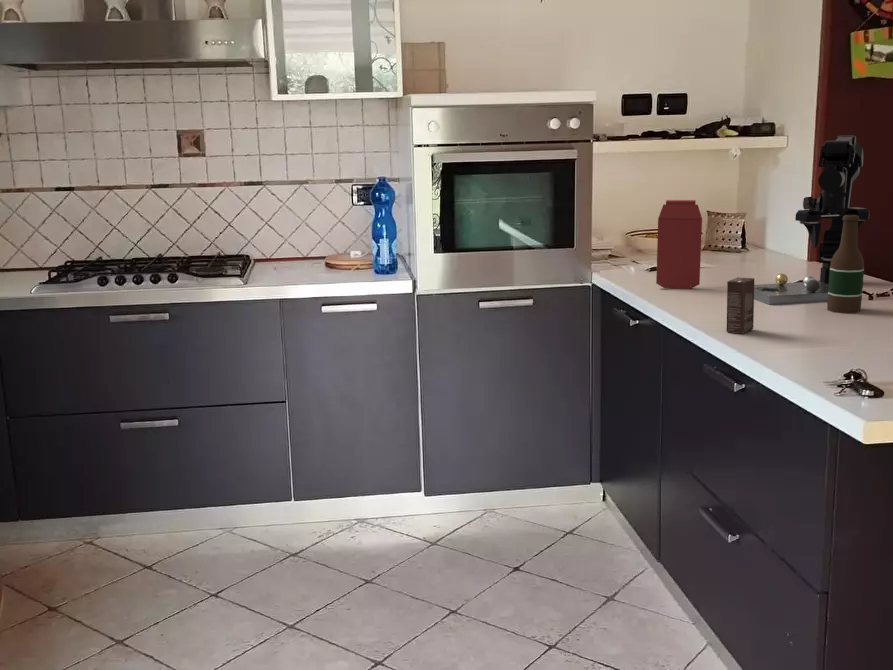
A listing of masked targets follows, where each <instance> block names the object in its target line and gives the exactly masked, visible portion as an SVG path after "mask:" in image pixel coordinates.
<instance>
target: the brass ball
mask: <svg viewBox="0 0 893 670" xmlns="http://www.w3.org/2000/svg"><path fill="white" fill-rule="evenodd" d="M788 280H789V279H788V276H787V274H785V273H779V274H777V275H776V276H775V284H778V285H784V284H786V283H788Z"/></svg>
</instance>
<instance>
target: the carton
mask: <svg viewBox="0 0 893 670" xmlns="http://www.w3.org/2000/svg"><path fill="white" fill-rule="evenodd" d="M696 203H697V202H696V199H666V201H665V204H663V205H662V207H661V209H660V212H659V215H658V218H657V246H656V249H657V250H656V276H655V277H656V278H655V279H656V280H655V283H656V284H655V285H658V286H659V287H661V288H664V289H681V290H683V289H684V290H686V289H688V290H692V289H693V288H695V287H698V286H699V285H700V281H701V280H700V279H701V278H700V277H701V256H702V255H701V254H702V233H703V232H702V230H703V218H702V214H701V211H700V207H699V204H696Z"/></svg>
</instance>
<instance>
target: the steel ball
mask: <svg viewBox="0 0 893 670" xmlns="http://www.w3.org/2000/svg"><path fill="white" fill-rule="evenodd" d="M810 280H816V278H815V277H814V276H812V275H807V276H805V277H804V278H803V280H802V282H803V285H804V286H805V287H807V283H808V282H809V281H810Z"/></svg>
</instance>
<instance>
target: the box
mask: <svg viewBox="0 0 893 670" xmlns="http://www.w3.org/2000/svg"><path fill="white" fill-rule="evenodd" d="M726 282H727V286H726V287H727V288H726V290H727V291H726V298H727V299H726V332H727V333H731V332H732V334H737V333H742V334H741V335H744V334H747V332H750V331H751V330H753V329H754V316H755V314H754V313H755V312H754V311H755V309H754V308H755V300H754V285H755V277H754V278H753V277H739V276H737V277H735V278H733V279H730V280H728V281H726Z"/></svg>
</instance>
